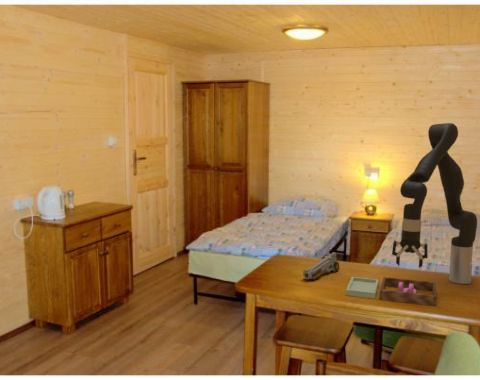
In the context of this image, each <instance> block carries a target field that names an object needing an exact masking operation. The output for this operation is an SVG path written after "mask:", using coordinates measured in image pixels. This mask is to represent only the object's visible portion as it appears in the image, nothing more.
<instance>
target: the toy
mask: <svg viewBox="0 0 480 380" xmlns="http://www.w3.org/2000/svg"><path fill="white" fill-rule="evenodd" d="M339 270H340V264H339V262H338V260H337V253H336V252H334V251H333V252H331V253H330V252H326V253H325V255H324V257H323V258H322V259H321V260H320V261H318V262H316V263H315V264H313V265H312V266H311V267H309V268H305V269H304V270H303V271H302V273H303V275H302V276H303V277H304V279H306V280H309V281H314V280H316V278H318V277H319V276H321V274H323V273H327V274H328V273H330V272H331V271H332V272H335V273H338V271H339Z"/></svg>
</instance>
